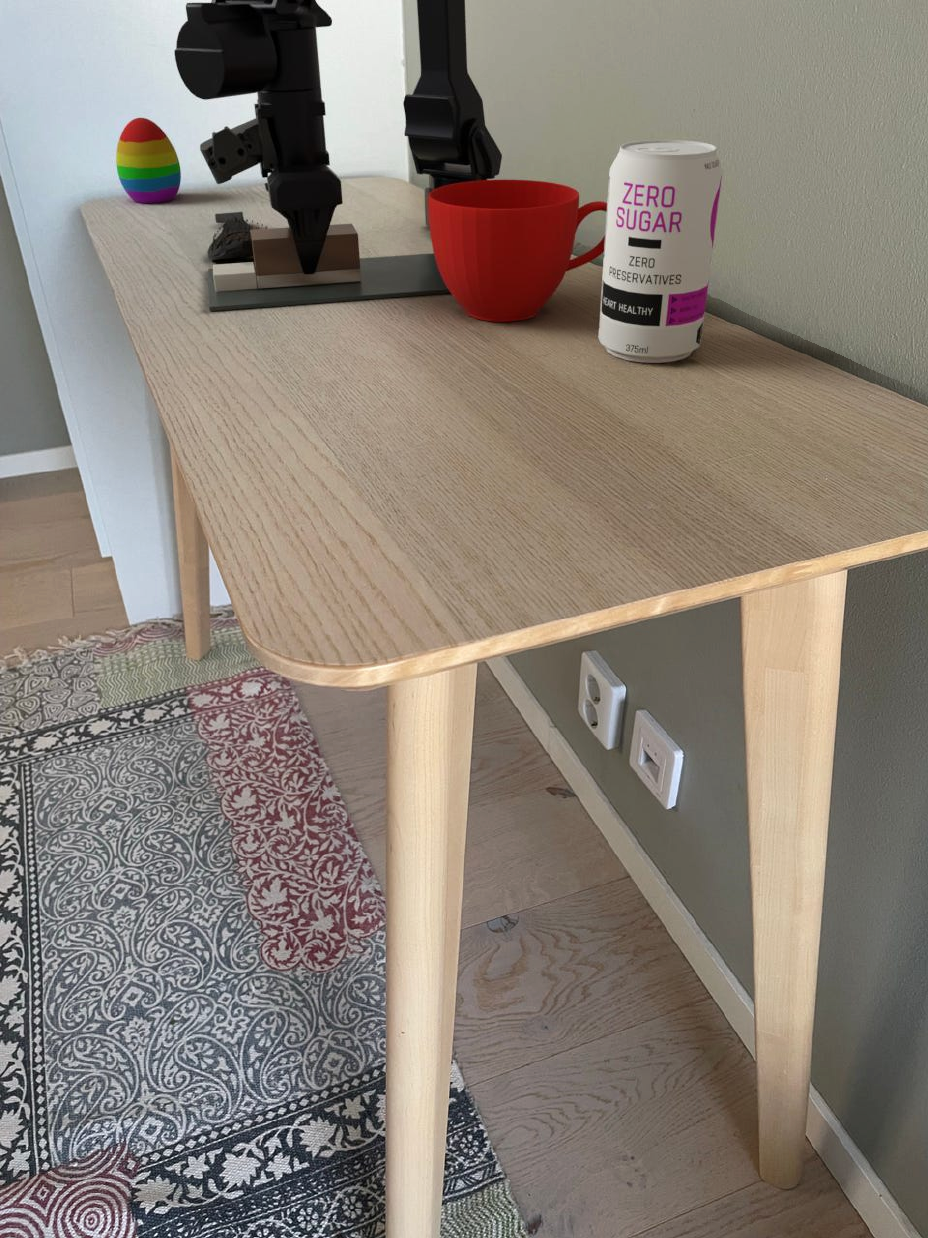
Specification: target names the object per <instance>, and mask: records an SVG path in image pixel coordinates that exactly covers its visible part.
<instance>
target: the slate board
mask: <svg viewBox="0 0 928 1238" xmlns="http://www.w3.org/2000/svg"><path fill="white" fill-rule="evenodd" d="M254 267H255V265H254ZM360 271H361V281H358V282H344V283H331V284H317V285H303V286H289V287H275V288H261V289H259V288H258V289H247V290H234V291H221V292H216V290H215V284H214V278H213V267H212V268H208V269H207V272H208V273H207V276H208V308H209V312H219V311H232V310H233V311H234V310H245V309H260V308H273V307H285V306H298V305H312V304H313V305H314V304H324V303H337V302H338V303H339V302H350V301H351V302H353V301H363V300H379V299H390V298H391V299H393V298H404V297H417V296H418V297H419V296H432V295H444V294H451V293H450V291H449V290H448V288H447V287H446V285H445V283H444V281H443V279H442V277H441V274H440V272H439V269H438V266H437V263H436V259H435V255H434V252H433V253H432V252H431V253H423V254H422V253H419V254H406V255H392V256H391V255H390V256H376V257H375V256H374V257H361V258H360ZM256 279H257V278H256ZM257 287H258V284H257Z"/></svg>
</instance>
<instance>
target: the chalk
mask: <svg viewBox="0 0 928 1238" xmlns="http://www.w3.org/2000/svg"><path fill="white" fill-rule="evenodd" d="M254 266H255V264H254V261H247V262H235V263H233V262H232V263H219V264H212V268H213V278H214V284H215V290H216V292H221V291H234V290H247V289H258V287H257V279H256V272H255V267H254Z"/></svg>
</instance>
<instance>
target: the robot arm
mask: <svg viewBox="0 0 928 1238" xmlns="http://www.w3.org/2000/svg"><path fill="white" fill-rule="evenodd" d="M416 10H417V26H418V45H419V61H420V62H419V63H420V76H419V78H418V81H417V83H416V85H415V88H414V90H413V92H412V94H408V93H407V94H405V96H404V98H403V102H402V103H403V111H404V117H405V118H404V119H405V128H404V137H407V140H408V146H409V149H410V153H411V155H412V160H413V163H414V164H413V165H414V167H415V171H416V174H417V175H428V187H425V188H424V215H425V225H426V227H427V228H428V229H429V230H430V224H429V214H428V195H429V194H430V192H431V191H433V190H434V189H436V188H439V187H442V186H446V185H450V184H455V183H461V182H470V181H481V180H494V179H495V178H496V176H498V175H500V172H501V165H502V160H503V155H502V152H501V150H500V149H499V146H498V145H497V143H496V142H495V140H494V138H493V137H492V134H491V132H490V130H488V128H487V126H486V118H485V111H484V102H483V98H482V96H481V94H480V92H479V91H478V89H477V87H476V85H475V84H474V81H473V80H472V78H471V76H470V74H469V71H468V55H467V53H468V51H467V26H466V25H467V24H466V23H467V21H466V0H416ZM185 12H186V18H187V20H186V21H185V22H184V23H183V24H182V26H181V27H180V29H179V31H178V33H177V38H176V46H175V47H176V48H175V49H174V53H173V54H174V62H175V64H176V69H177V71H178V75H179V77H180V79H181V81H182V82H183V84H184V86H185V87H186V89H187V90H188V91H189V92H190V93H191V94H192V95H194V96H195V98H197V99H198V98H199V99H201V100H203V101H206V100H214V99H222V98H229V97H236V96H244V95H251V94H256V93H257V99H256V102H257V103H254V104H253V105H254V113H255V117H254V118H253V119H250V120H249V121H246V122H244V123H242V124H238V125H237V126H234V127H232V128H230V127H229V126H224V128H223V129H221V130H219V131H217V132H215V131H212V132H211V138H208V139H207V140H205V141H203V142H202V143H200V145H199V151H200V153H201V154H202V157H203V158H204V161H205V162H206V163H205V164H206V165H207V167H208V169H209V170H210V173H211V175H212V177H213V179H214V181H215V183H216V184H217V185H221V184H224V183H227V182H228V181H231V180H232V179H233V177H234V176H236V175H238V174H240V173H243V172H245V171H246V170H249V169H251V168H254V167H255V166H257V165H259V168H260V175H261V178H262V179H265V178H266V183H264V184H263V185H264V188H265V190H266V192H268V197H269V203H270V207H271V209H273V210H274V211H275V212H277V213H279V214H280V215H281V216H282V217H283V218H284V219H285V220H286V221H287V224H288V227H290V228H291V231H292V235H293V238H294V242H295V246H296V249H297V253H298V256H299V260H300V263H301V267H302V270H303V273H304V274H306V275H307V274H314V273H315V271H316V268H317V265H318V261H319V258H320V255H321V251H322V248H323V245H324V241H325V239H326V235H327V232H328V229H329V226H330V225H331V222H332V219H333V216H334V213H335V211H336V208H337V207H338V206H340V205H343V203H344V202H343V189H342V188H343V187H342V180H341V179H340V177H339V176H338V174H337V173H335V171H333V170H332V169H331V168H330V167H329V166H330V165H331V164H330V153H329V151H328V150H327V143H326V142H327V141H326V131H325V119H324V118H325V117H324V116H326V115H327V113H326V103H325V101H324V100H323V95H322V83H321V82H322V81H321V71H320V60H319V49H318V36H317V28H328V27H331V26H332V24H333V19H332V16H330V15H329V13H328V12H326V10H324V9H323V8H322V7H321V6H320V5H319V4H318V2H317V0H211V1H210V2H186V4H185Z"/></svg>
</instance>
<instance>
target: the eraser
mask: <svg viewBox="0 0 928 1238" xmlns="http://www.w3.org/2000/svg"><path fill="white" fill-rule="evenodd" d="M250 232H251V240H252V248H253V256H252V257H253V262H254V266H255V272H256V278H257V284H258V288H259V289H261V288H275V287H289V286H303V285H317V284H331V283H344V282H358V281H361V271H360V256H361V255H360V243H359V233H358V231H357V230H356V228H355V227H354V224H353V223H339V224H338V223H337V224H330V226H329V229H328V232H327V235H326V239H325V241H324V245H323V248H322V251H321V255H320V258H319V261H318V265H317V268H316V271H315V273H314V274H307V275H306V274H304V273H303V270H302V267H301V263H300V260H299V256H298V253H297V249H296V246H295V242H294V238H293V235H292V231H291V228H290V227H289V226H287V227H275V228H274V227H273V228H272V227H271V228H267V229H265V228H262V229H261V228H259V229H256V228H254V230H250Z"/></svg>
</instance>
